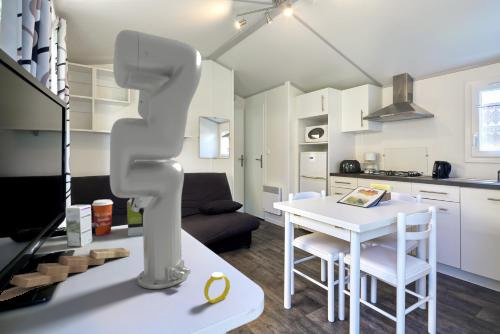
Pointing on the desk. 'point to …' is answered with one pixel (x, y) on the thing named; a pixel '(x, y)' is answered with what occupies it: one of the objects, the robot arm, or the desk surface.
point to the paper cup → (102, 216)
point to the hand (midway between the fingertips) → (146, 225)
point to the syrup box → (78, 225)
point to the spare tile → (109, 253)
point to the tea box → (134, 221)
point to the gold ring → (213, 277)
